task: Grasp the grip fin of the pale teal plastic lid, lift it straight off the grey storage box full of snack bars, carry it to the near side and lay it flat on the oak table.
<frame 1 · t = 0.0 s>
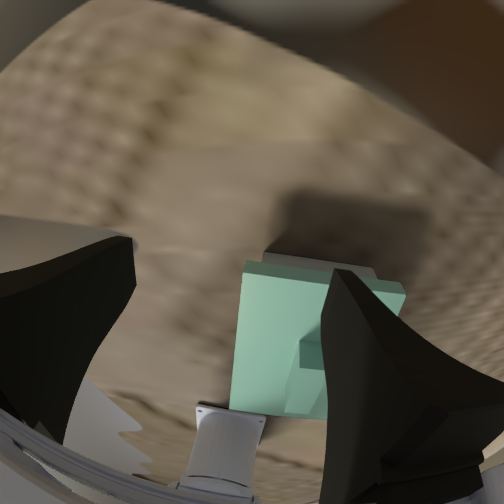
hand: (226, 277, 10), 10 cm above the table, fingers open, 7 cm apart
box: (303, 324, 24), on the table
lid: (304, 352, 21), point 3 cm above the table, touching box
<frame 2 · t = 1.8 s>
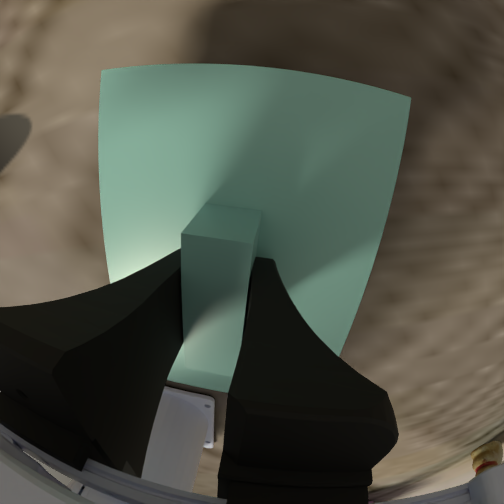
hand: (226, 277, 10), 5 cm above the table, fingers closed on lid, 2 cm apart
chocolate bunny: (484, 447, 26), on the table
lid: (234, 256, 12), point 3 cm above the table, touching box, gripper
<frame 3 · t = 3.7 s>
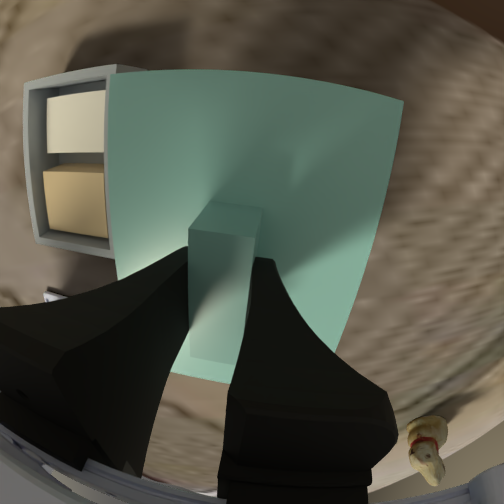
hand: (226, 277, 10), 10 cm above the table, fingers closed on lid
box: (96, 153, 19), on the table
chocolate bunny: (425, 423, 30), on the table
lid: (236, 251, 12), point 8 cm above the table, touching gripper
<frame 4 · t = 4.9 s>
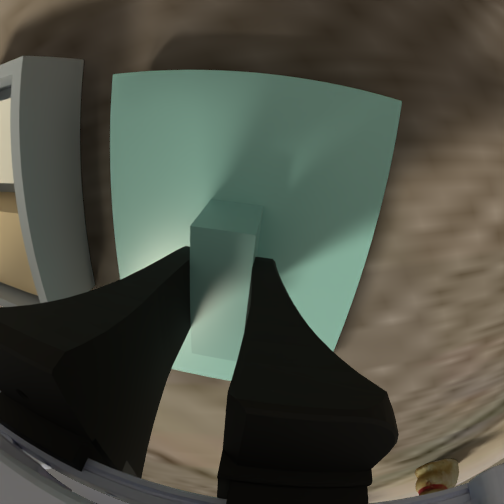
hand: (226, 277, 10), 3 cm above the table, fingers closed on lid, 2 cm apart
box: (30, 179, 13), on the table
chocolate bunny: (435, 465, 24), on the table
lid: (237, 249, 13), point 1 cm above the table, touching gripper
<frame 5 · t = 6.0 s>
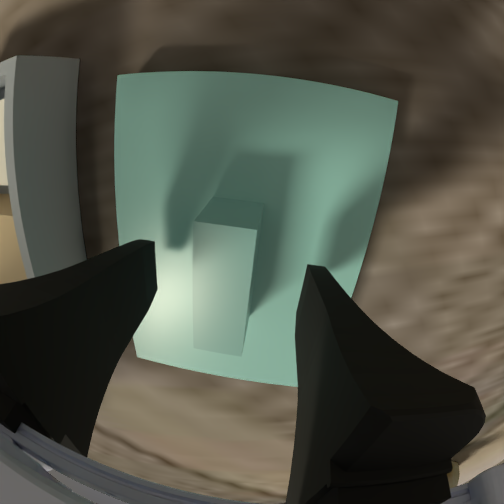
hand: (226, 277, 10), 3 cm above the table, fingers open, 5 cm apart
box: (26, 180, 12), on the table
chocolate bunny: (436, 467, 24), on the table
lid: (238, 246, 13), on the table
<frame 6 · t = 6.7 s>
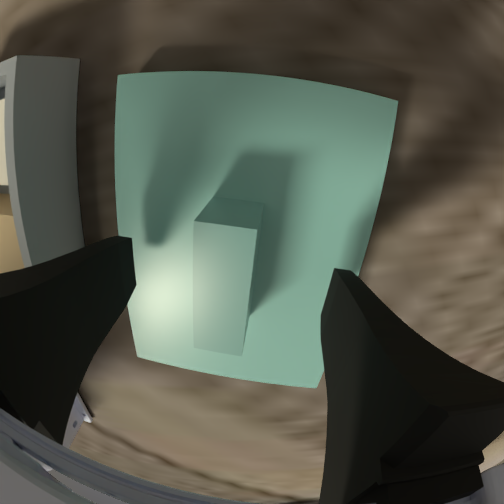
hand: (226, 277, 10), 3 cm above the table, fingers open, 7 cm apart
box: (26, 180, 12), on the table
lid: (238, 246, 13), on the table
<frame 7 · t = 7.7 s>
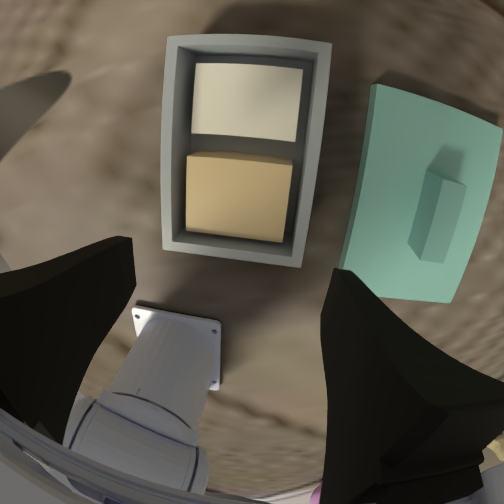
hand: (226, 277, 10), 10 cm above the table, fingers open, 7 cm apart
box: (247, 141, 18), on the table
chocolate bunny: (489, 406, 28), on the table
lid: (420, 202, 18), on the table
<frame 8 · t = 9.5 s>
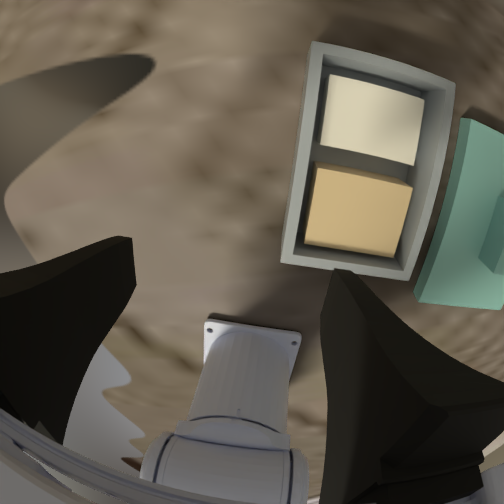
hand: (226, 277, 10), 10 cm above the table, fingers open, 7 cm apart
box: (357, 158, 18), on the table
lid: (486, 222, 18), on the table
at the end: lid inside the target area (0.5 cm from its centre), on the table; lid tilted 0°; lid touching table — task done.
